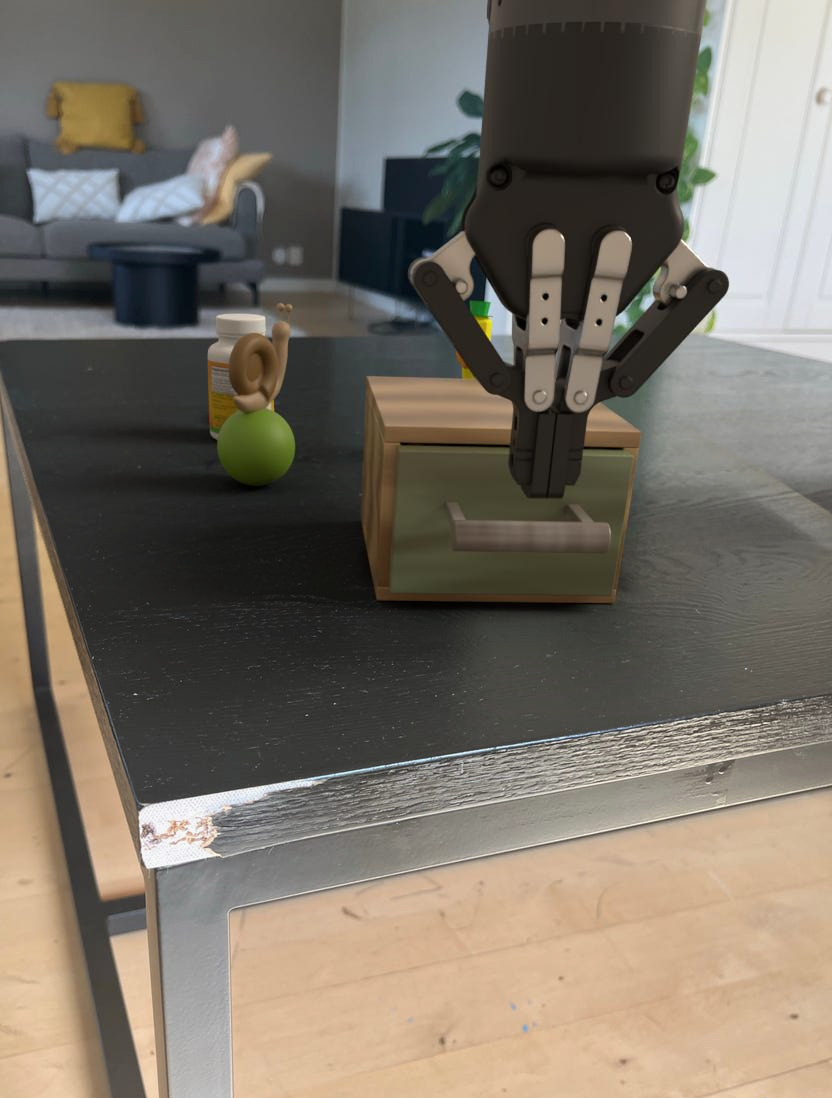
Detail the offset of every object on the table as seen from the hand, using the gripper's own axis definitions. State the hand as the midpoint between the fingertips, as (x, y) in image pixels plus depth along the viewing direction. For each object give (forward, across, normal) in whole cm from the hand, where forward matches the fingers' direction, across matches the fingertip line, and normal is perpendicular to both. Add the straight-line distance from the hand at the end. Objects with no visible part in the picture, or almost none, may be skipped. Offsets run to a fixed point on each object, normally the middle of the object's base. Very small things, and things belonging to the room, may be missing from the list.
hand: (541, 493), depth 43 cm
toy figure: (+8, +3, +36) cm, 37 cm away
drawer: (+7, 0, +9) cm, 11 cm away
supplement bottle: (+8, -15, +42) cm, 45 cm away
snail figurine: (+8, -13, +28) cm, 32 cm away
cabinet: (+8, 0, +13) cm, 15 cm away
